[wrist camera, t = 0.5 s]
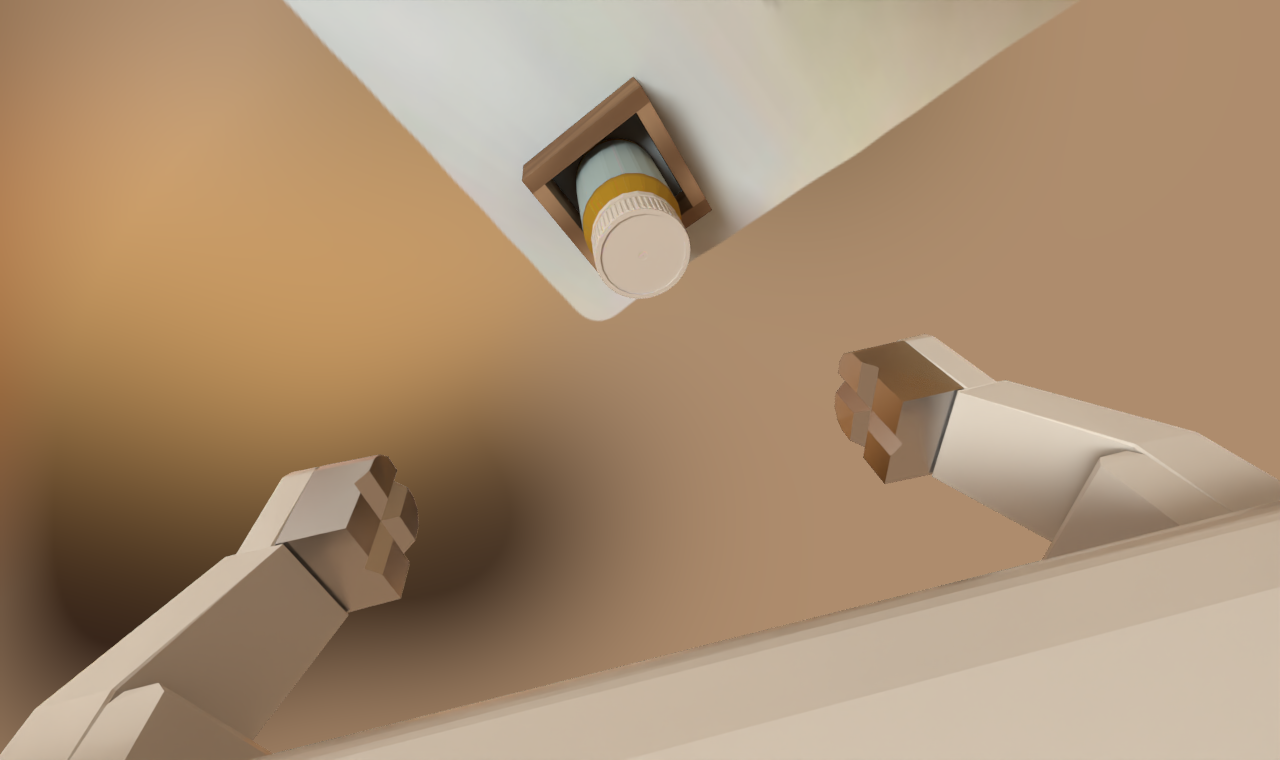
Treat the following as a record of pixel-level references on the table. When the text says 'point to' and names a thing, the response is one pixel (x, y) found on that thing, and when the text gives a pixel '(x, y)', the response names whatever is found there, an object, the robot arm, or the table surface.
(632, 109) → the pocket
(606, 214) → the bottle
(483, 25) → the table surface
